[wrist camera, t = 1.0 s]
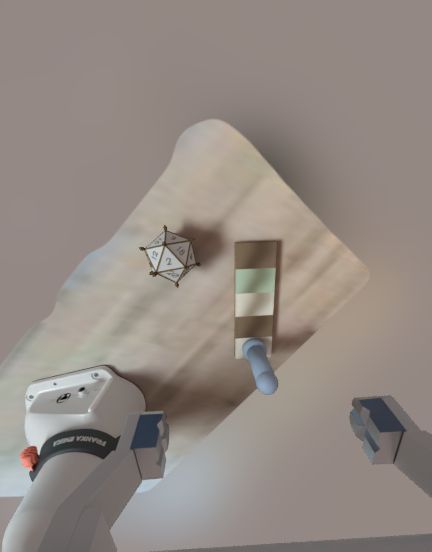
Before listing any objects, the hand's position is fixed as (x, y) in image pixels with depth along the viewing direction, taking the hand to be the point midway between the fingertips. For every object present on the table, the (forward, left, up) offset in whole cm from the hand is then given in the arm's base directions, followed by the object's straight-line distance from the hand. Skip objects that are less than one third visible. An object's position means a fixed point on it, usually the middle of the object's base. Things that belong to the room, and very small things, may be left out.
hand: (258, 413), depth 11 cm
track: (+7, -9, -34) cm, 36 cm away
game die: (-7, +1, -34) cm, 35 cm away
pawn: (+7, -18, -33) cm, 38 cm away
